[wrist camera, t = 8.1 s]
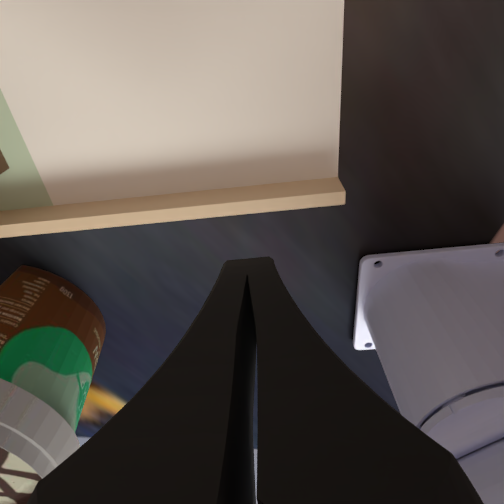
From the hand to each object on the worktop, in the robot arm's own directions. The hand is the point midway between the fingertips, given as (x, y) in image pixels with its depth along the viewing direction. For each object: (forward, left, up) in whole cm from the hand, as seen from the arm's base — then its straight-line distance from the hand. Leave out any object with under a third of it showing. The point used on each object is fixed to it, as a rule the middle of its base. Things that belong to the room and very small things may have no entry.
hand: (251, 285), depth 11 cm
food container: (+13, +10, -10) cm, 19 cm away
